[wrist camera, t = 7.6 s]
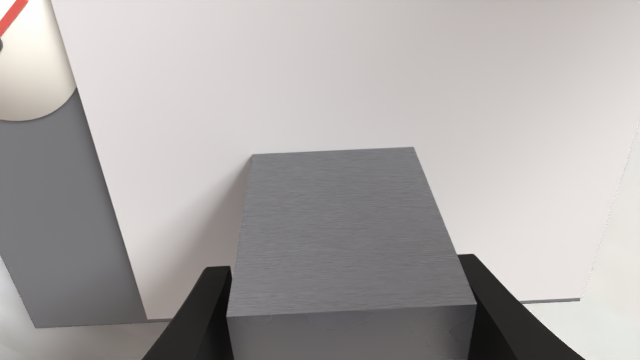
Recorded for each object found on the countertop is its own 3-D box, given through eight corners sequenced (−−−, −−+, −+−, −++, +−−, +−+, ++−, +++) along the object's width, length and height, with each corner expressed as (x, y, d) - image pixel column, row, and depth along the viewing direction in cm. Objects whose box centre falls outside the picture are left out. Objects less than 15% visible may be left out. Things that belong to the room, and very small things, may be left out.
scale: (57, 289, 20) (25, 345, 18) (-154, -216, 12) (-268, -237, 9) (556, 264, 21) (589, 317, 18) (698, -250, 12) (796, -277, 10)
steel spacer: (267, 275, 17) (252, 457, 11) (252, 154, 14) (226, 316, 9) (404, 268, 17) (451, 446, 12) (413, 146, 14) (477, 304, 9)
